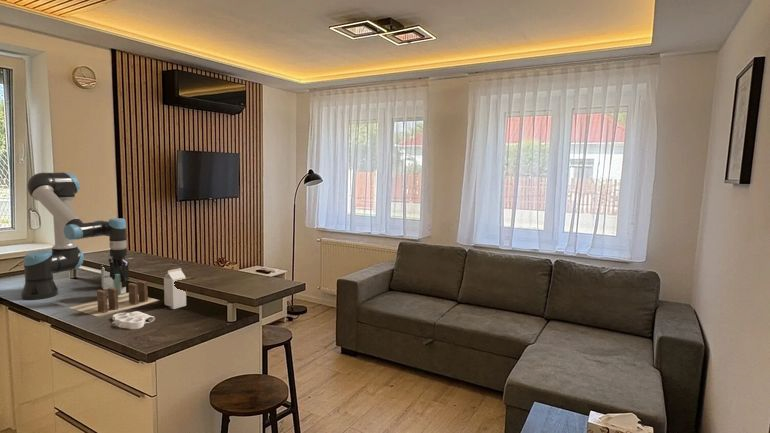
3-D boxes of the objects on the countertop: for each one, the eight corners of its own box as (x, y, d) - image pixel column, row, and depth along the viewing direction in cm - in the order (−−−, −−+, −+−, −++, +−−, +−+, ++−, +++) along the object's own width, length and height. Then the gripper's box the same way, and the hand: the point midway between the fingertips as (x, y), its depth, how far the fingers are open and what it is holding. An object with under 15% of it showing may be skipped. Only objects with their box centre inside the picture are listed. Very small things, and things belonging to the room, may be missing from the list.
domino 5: (144, 302, 222) (144, 282, 221) (138, 300, 224) (138, 281, 223) (147, 301, 223) (147, 282, 222) (141, 299, 226) (141, 280, 225)
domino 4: (135, 304, 217) (134, 284, 216) (129, 303, 220) (128, 283, 219) (138, 303, 219) (137, 284, 218) (132, 302, 221) (131, 282, 220)
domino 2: (115, 310, 209) (114, 289, 208) (108, 308, 211) (107, 288, 210) (118, 309, 210) (117, 288, 209) (112, 307, 212) (111, 287, 211)
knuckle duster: (159, 323, 198) (125, 333, 185) (136, 315, 207) (103, 324, 195) (158, 316, 197) (125, 325, 185) (136, 308, 207) (103, 317, 194)
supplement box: (103, 290, 245) (102, 267, 244) (101, 287, 251) (100, 265, 249) (118, 288, 250) (117, 266, 248) (116, 285, 255) (115, 263, 254)
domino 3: (121, 294, 227) (120, 275, 226) (115, 293, 230) (114, 274, 229) (124, 294, 229) (123, 275, 228) (118, 292, 231) (117, 273, 230)
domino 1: (104, 313, 204) (103, 292, 203) (97, 311, 207) (97, 290, 205) (107, 312, 206) (106, 291, 205) (101, 310, 208) (100, 289, 207)
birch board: (67, 309, 211) (67, 307, 211) (128, 294, 237) (128, 292, 237) (99, 319, 199) (99, 317, 199) (160, 302, 226) (159, 300, 225)
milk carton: (186, 305, 221) (185, 268, 219) (173, 309, 215) (172, 271, 213) (177, 303, 225) (176, 267, 223) (164, 307, 219) (163, 269, 217)
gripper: (100, 247, 227) (102, 291, 230) (121, 251, 219) (123, 296, 222) (115, 245, 234) (116, 287, 237) (136, 249, 226) (137, 293, 228)
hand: (119, 292), depth 229 cm, fingers closed on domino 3, 5 cm apart
